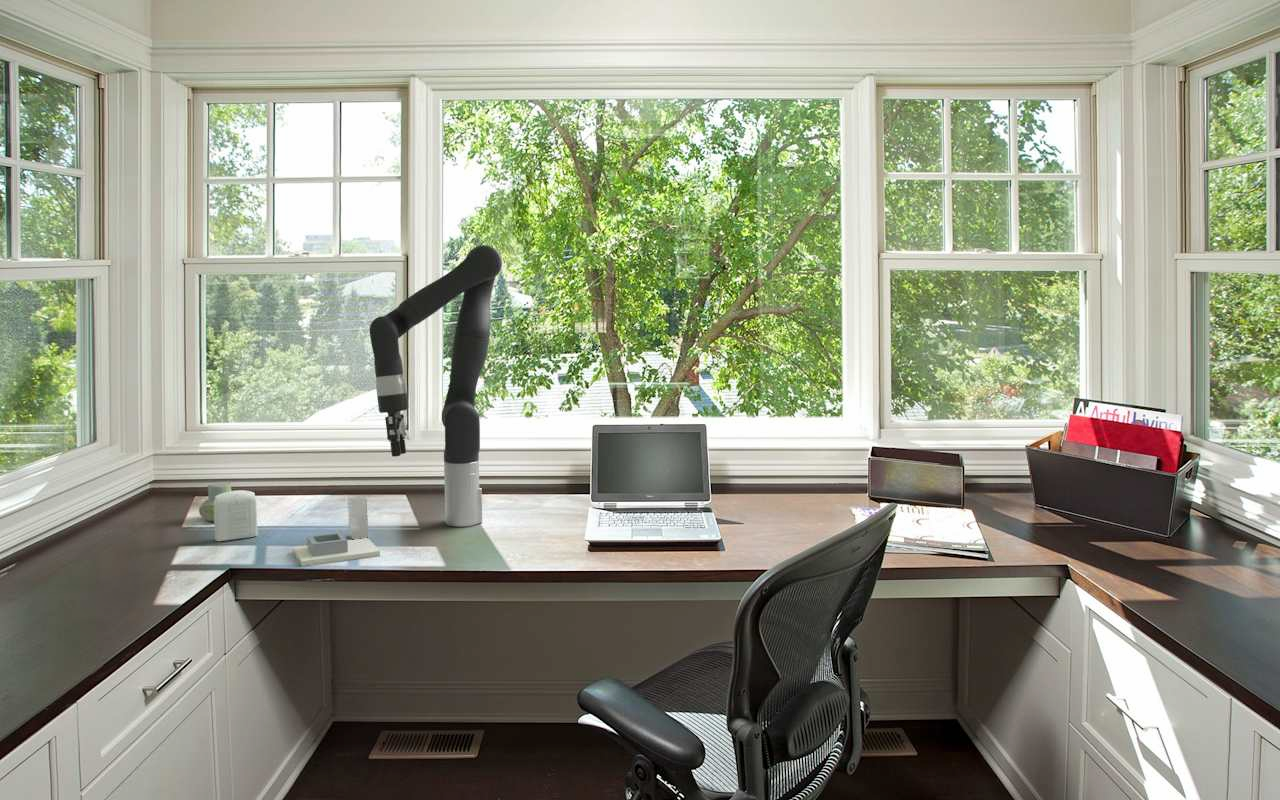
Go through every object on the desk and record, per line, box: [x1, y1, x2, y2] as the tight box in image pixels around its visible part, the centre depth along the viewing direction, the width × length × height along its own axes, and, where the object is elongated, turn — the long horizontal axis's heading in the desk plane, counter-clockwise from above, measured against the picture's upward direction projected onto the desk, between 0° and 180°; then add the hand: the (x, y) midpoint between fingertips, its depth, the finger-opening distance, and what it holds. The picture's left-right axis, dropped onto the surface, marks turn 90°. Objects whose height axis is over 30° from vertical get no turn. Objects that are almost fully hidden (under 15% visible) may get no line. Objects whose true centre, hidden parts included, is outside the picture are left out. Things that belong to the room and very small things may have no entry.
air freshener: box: [198, 481, 232, 523], centre depth 266 cm, size 11×8×10 cm
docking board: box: [292, 531, 381, 567], centre depth 234 cm, size 18×13×4 cm
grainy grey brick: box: [347, 496, 369, 540], centre depth 249 cm, size 4×4×10 cm
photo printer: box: [213, 489, 259, 542], centre depth 247 cm, size 10×4×12 cm, turn 123°
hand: (399, 455), depth 252 cm, fingers open, 8 cm apart
